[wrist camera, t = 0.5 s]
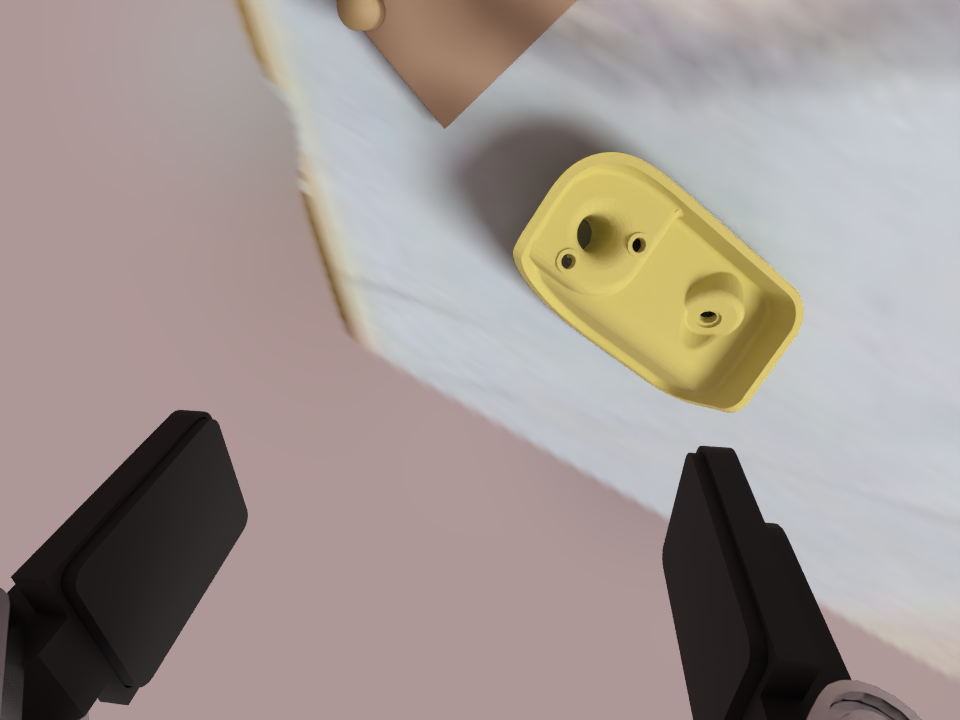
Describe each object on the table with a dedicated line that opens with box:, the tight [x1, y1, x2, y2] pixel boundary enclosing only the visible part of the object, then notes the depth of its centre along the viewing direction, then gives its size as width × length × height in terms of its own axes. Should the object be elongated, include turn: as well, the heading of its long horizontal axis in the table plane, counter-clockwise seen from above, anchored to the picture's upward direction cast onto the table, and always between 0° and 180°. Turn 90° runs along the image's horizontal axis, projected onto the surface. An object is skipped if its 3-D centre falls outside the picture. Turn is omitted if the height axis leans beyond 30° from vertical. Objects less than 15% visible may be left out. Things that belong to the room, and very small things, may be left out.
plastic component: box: [513, 152, 803, 413], centre depth 38 cm, size 20×7×10 cm
